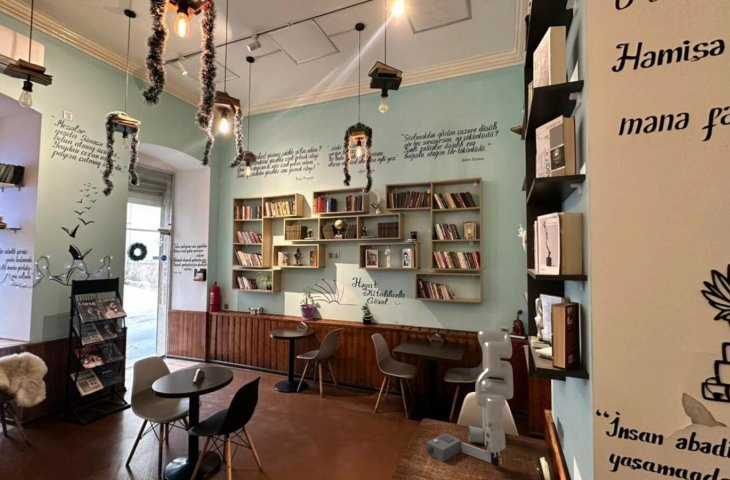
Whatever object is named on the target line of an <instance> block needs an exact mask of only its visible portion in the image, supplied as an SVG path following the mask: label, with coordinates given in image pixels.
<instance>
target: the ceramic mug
mask: <svg viewBox="0 0 730 480" xmlns="http://www.w3.org/2000/svg"><path fill="white" fill-rule="evenodd" d="M467 432H468V434H467V435H468V442H469V443H475V444H476V443H477V444H485V432H484V430H483V427H482V428H481V427H478V426H477V427H476V426H470V425H469V426H468V431H467Z"/></svg>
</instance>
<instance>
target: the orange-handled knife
mask: <svg viewBox="0 0 730 480" xmlns="http://www.w3.org/2000/svg"><path fill="white" fill-rule="evenodd" d="M486 451H487V450H486V449H485V450H484V449H482V448H479V447H476V446H474V445H471V444H468V443H465V442H464V441H461V452H460V453H462V454H466V455H469V456H471V457H474V458H476V459H479V460H482V461H484V462H486V463H490V464H491V455H489V454H487V453H486ZM502 460H503V459H502V458H500V457H499V466H501V465H502V464H503V463H502Z"/></svg>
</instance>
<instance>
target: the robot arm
mask: <svg viewBox="0 0 730 480" xmlns="http://www.w3.org/2000/svg"><path fill="white" fill-rule="evenodd" d="M477 339H478V342H479V346H480V347H481V351H482V370H483V371H481V372H480V374H479V375H478V376H477V379H476V381H475V391H474V392H475V403H476V405H478V406H479V407H482V408H481V409H482V413H481V414H482V429H483V430H484V432H485V442H484V449H485V451H486V453H487V454H489V455H491V463H490V464H491V465H492V466H495V467H498V466H500V464H499V458H500V455H501V451H503V450H505V449H506V435H505V429H504V426H503V420H504V419H503V416H504V415H503V409H504V408H505V406H506V400H510V399H513V397H514V377H513V367H512V364H511V363H510V362H509V361H507V360H501V358H502V359H511V358H512V355H513V346H512V339H511V335H510V333H509V332H507V331H503V330H502V331H501V330H500V331H499V330H492V329H491V330H488V329H483V330H481V329H480V330H479V331H478V333H477ZM491 377H492V378H491ZM493 378H496V379H493ZM498 378H499V379H498Z"/></svg>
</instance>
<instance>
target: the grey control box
mask: <svg viewBox="0 0 730 480" xmlns="http://www.w3.org/2000/svg"><path fill="white" fill-rule="evenodd" d="M461 442H462V439H460V438H457V437H455V436H453V435H450V434H449V433H446V432H444V433H442V434H440V435H438V436H436V437H434V438H432V439H430V440H428V441H426V454H427V455H429V456H430V457H433V458H435V459H436V460H439V461H440V462H442V463H444V462H446V461H447V460H449V459H451V458H452V457H454V456H456V455H457V454H459V453H462V452H461Z"/></svg>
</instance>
